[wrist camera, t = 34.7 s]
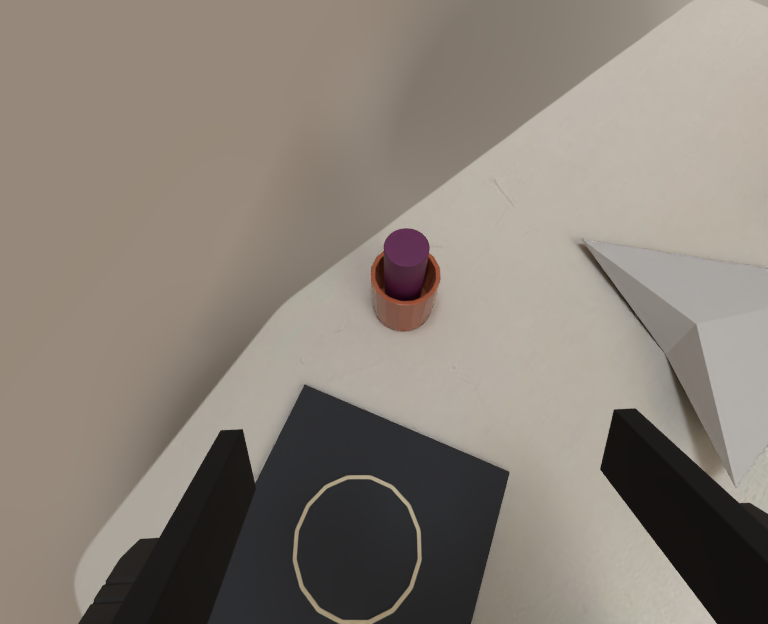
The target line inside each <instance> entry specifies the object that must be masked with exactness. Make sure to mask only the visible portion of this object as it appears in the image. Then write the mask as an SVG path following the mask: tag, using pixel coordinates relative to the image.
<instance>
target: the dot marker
mask: <svg viewBox="0 0 768 624" xmlns="http://www.w3.org/2000/svg"><path fill="white" fill-rule="evenodd" d="M428 255H429V243H428V240H427V239H426V237H425V236H424V235H423V234H422V233H420V232H418V231H416V230H413V229H399V230H396V231H394V232H393V233H391V234H390V235H389V236H388V237H387V239H386V241H385V243H384V285H385V294H386V295H387V296H388V297H390V298H393V299H396V300H399V301H414V300H416V299H419V298H420V297H421V292H422V287H423V281H424V276H425V271H426V266H427V260H428Z"/></svg>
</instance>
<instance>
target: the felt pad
mask: <svg viewBox="0 0 768 624" xmlns="http://www.w3.org/2000/svg"><path fill="white" fill-rule="evenodd" d="M508 476H509V472H508V471H506V470H504V469H501V468H499V467H497V466H494V465H492V464H490V463H487V462H485V461H483V460H480V459H478V458H476V457H473V456H471V455H469V454H466V453H464V452H462V451H459V450H457V449H454V448H452V447H450V446H447V445H445V444H443V443H440V442H438V441H436V440H433V439H431V438H429V437H426V436H424V435H422V434H419V433H417V432H415V431H412V430H410V429H408V428H405V427H403V426H401V425H398V424H396V423H393V422H391V421H389V420H386V419H384V418H382V417H379V416H377V415H375V414H372V413H370V412H368V411H365V410H363V409H361V408H358V407H356V406H354V405H351V404H349V403H347V402H344V401H342V400H340V399H337V398H335V397H333V396H330V395H328V394H325V393H323V392H321V391H318V390H316V389H314V388H311V387H309V386H307V385H304V387H303V389H302V391H301V393H300V395H299V397H298V399H297V401H296V403H295V405H294V407H293V409H292V411H291V413H290V415H289V417H288V419H287V421H286V423H285V425H284V427H283V429H282V431H281V433H280V435H279V437H278V439H277V441H276V443H275V445H274V447H273V449H272V451H271V453H270V455H269V457H268V459H267V461H266V463H265V465H264V467H263V469H262V471H261V473H260V475H259V477H258V479H257V481H256V483H255V487H256V490H255V493H254V495H253V498H252V501H251V504H250V507H249V509H248V512H247V515H246V518H245V521H244V523H243V526H242V529H241V532H240V535H239V537H238V540H237V543H236V546H235V548H234V551H233V554H232V557H231V560H230V562H229V565H228V568H227V571H226V574H225V576H224V579H223V582H222V585H221V588H220V590H219V593H218V596H217V599H216V602H215V604H214V607H213V610H212V613H211V616H210V618H209V621H208V624H471V621H472V617H473V613H474V610H475V606H476V602H477V598H478V594H479V590H480V586H481V582H482V578H483V574H484V570H485V566H486V562H487V559H488V555H489V551H490V547H491V543H492V539H493V535H494V531H495V527H496V523H497V519H498V515H499V512H500V508H501V504H502V500H503V496H504V492H505V488H506V484H507V480H508Z"/></svg>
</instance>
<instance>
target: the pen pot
mask: <svg viewBox="0 0 768 624" xmlns="http://www.w3.org/2000/svg"><path fill="white" fill-rule="evenodd" d="M439 283H440V268H439V266H438V264H437V262H436V260H435V258H434V257H433V256H432V255H431V254H429V255H428V260H427V266H426V271H425V276H424V281H423V287H422V292H421V297H420V298H419V299H416V300H414V301H399V300H396V299H393V298H390V297H388V296H387V295H386V294H385V285H384V251H383V252H382V253H381V254H380V255H379V256H377V257H376V259H375V261H374V263H373V265H372V267H371V285H372V297H373V308H374V311H375V314H376V316H377V317H378V319H379V320H380V321H381V322H382V323H383V324H384V325H385V326H387V327H389V328H391V329H394V330H398V331H409V330H413V329H416V328H418V327H419V326H421V325H422V324H424V323H425V322H426V320H427V319H428V318H429V316H430V313H431V310H432V308H433V305H434V301H435V297H436V294H437V290H438V287H439Z"/></svg>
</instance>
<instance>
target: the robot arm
mask: <svg viewBox="0 0 768 624" xmlns="http://www.w3.org/2000/svg"><path fill="white" fill-rule="evenodd" d="M600 470H601V471H602V472H603V474H604V475H605V476H606V478H607V479H608V480H609V482H610V483H611V484H612V486H613V487H614V488H615V490H616V491H617V492H618V494H619V495H620V496H621V498H622V499H623V500H624V501H625V503H626V504H627V505H628V507H629V508H630V509H631V511H632V512H633V513H634V515H635V516H636V517H637V519H638V520H639V521H640V523H641V524H642V525H643V527H644V528H645V529H646V530H647V532H648V533H649V534H650V536H651V537H652V538H653V540H654V541H655V542H656V544H657V545H658V546H659V548H660V549H661V550H662V552H663V553H664V554H665V556H666V557H667V558H668V559H669V561H670V562H671V563H672V565H673V566H674V567H675V569H676V570H677V571H678V573H679V574H680V575H681V577H682V578H683V579H684V581H685V582H686V583H687V585H688V586H689V587H690V589H691V590H692V591H693V592H694V594H695V595H696V596H697V598H698V599H699V600H700V602H701V603H702V604H703V606H704V607H705V608H706V610H707V611H708V612H709V614H710V615H711V616H712V618H713V619H714V620H715V621H716V623H717V624H768V514H767V513H765V512H764V511H762V510H760V509H759V508H757V507H756V506H754V505H752V504H751V503H738V502H737V501H736V500H735V499H734V498H733V497H732V496H731V495H730V494H729V493H727V492H726V491H725V490H724V489H723V488H722V487H721V486H720V485H719V484H718V483H716V482H715V481H714V480H713V479H712V478H711V477H710V476H709V475H708V474H707V473H706V472H704V471H703V470H702V469H701V468H700V467H699V466H698V465H697V464H696V463H695V462H693V461H692V460H691V459H690V458H689V457H688V456H687V455H686V454H685V453H684V452H682V451H681V450H680V449H679V448H678V447H677V446H676V445H675V444H674V443H673V442H672V441H670V440H669V439H668V438H667V437H666V436H665V435H664V434H663V433H662V432H661V431H659V430H658V429H657V428H656V427H655V426H654V425H653V424H652V423H651V422H650V421H649V420H647V419H646V418H645V417H644V416H643V415H642V414H641V413H640V412H639V411H638V410H636V409H616V410H614V412H613V416H612V421H611V425H610V429H609V434H608V438H607V442H606V447H605V451H604V455H603V459H602V464H601V468H600ZM255 490H256V487H255V482H254V478H253V473H252V469H251V464H250V460H249V455H248V451H247V446H246V442H245V437H244V433H243V429H240V430H221V431H220V433H219V434H218V436H217V438H216V440H215V441H214V443H213V445H212V447H211V448H210V450H209V452H208V454H207V455H206V457H205V459H204V461H203V462H202V464H201V466H200V468H199V469H198V471H197V473H196V475H195V476H194V478H193V480H192V482H191V483H190V485H189V487H188V489H187V490H186V492H185V494H184V496H183V497H182V499H181V501H180V503H179V504H178V506H177V508H176V510H175V511H174V513H173V515H172V517H171V518H170V520H169V522H168V524H167V525H166V527H165V529H164V531H163V532H162V534H161V536H160V538H149V539H140V540H139V541H138V542H137V543H136V544H135V545H133V546H132V547H131V548H130V549H129V550H128V551H127V552H126V553H125V554H124V555H123V556H122V557H121V558H120V560H119V561H118V563H117V564H116V566H115V567H114V569H113V571H112V572H111V574H110V575H109V577H108V578H107V580H106V584H105V585H103V586H102V588H101V589H100V591H99V592H98V594H97V596H96V597H95V599H94V602H93V604H92V605H90V606H89V608H88V610H87V611H86V613H85V614H84V616H83V617H82V619H81V620H80V622H79V624H208V621H209V618H210V616H211V613H212V610H213V607H214V604H215V602H216V599H217V596H218V593H219V590H220V588H221V585H222V582H223V579H224V576H225V574H226V571H227V568H228V565H229V562H230V560H231V557H232V554H233V551H234V548H235V546H236V543H237V540H238V537H239V535H240V532H241V529H242V526H243V523H244V521H245V518H246V515H247V512H248V509H249V507H250V504H251V501H252V498H253V495H254V493H255Z"/></svg>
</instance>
